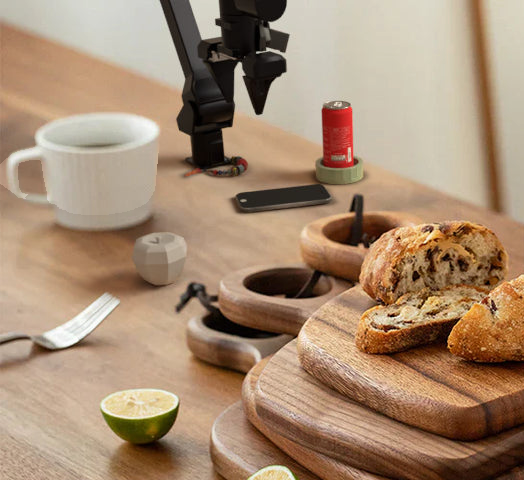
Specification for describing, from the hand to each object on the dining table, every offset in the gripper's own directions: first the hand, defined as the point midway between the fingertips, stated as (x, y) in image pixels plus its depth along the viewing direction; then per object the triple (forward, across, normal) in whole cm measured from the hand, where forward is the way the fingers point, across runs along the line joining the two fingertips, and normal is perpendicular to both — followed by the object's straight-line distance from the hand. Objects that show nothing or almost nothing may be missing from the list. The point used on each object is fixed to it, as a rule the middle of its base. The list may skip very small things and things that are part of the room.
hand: (244, 108), depth 178 cm
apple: (+13, -26, +30) cm, 42 cm away
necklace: (+13, +9, +1) cm, 16 cm away
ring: (+13, -7, -14) cm, 20 cm away
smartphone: (+13, -11, 0) cm, 17 cm away
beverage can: (+13, -7, -14) cm, 20 cm away
